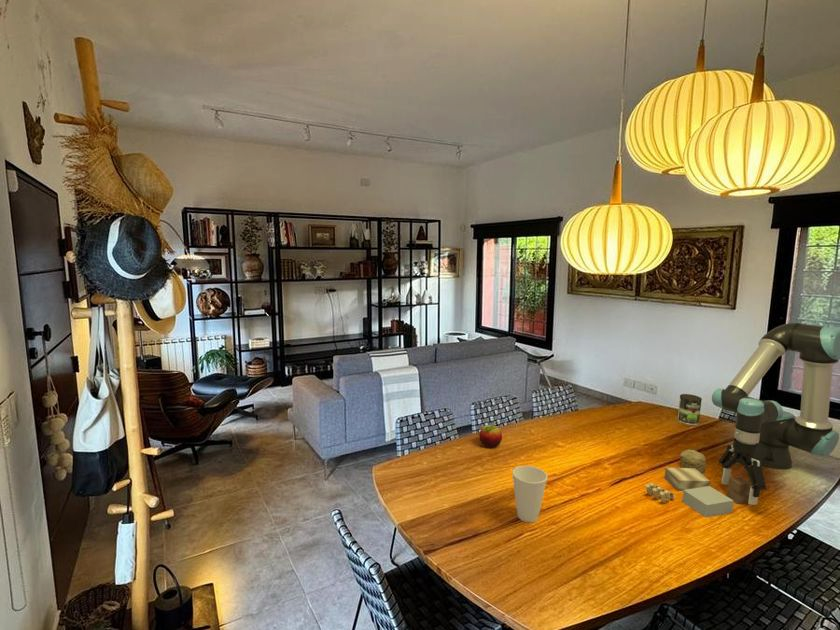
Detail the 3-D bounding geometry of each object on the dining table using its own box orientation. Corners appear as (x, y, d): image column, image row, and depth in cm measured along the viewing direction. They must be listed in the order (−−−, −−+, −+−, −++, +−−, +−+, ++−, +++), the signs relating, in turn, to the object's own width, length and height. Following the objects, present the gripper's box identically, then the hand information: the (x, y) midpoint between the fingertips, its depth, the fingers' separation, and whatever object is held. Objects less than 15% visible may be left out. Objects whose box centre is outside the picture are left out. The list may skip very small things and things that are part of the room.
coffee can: (702, 426, 237) (705, 400, 234) (681, 424, 238) (684, 399, 236) (694, 418, 247) (696, 394, 244) (674, 417, 248) (676, 393, 246)
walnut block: (739, 496, 170) (741, 477, 169) (749, 504, 165) (752, 484, 164) (726, 496, 170) (729, 477, 168) (736, 504, 165) (739, 484, 163)
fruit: (505, 443, 213) (505, 424, 211) (496, 452, 204) (497, 431, 202) (484, 438, 218) (485, 419, 217) (475, 446, 209) (475, 426, 208)
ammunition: (662, 493, 162) (676, 488, 166) (644, 484, 169) (657, 479, 173) (661, 506, 163) (675, 500, 167) (643, 496, 170) (656, 491, 173)
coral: (710, 472, 188) (712, 455, 186) (693, 475, 185) (695, 458, 184) (691, 462, 196) (693, 446, 195) (674, 464, 194) (676, 448, 193)
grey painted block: (707, 498, 169) (709, 485, 168) (732, 513, 159) (733, 500, 159) (682, 502, 166) (683, 490, 165) (705, 518, 156) (706, 505, 156)
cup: (538, 530, 148) (541, 486, 145) (505, 519, 154) (507, 476, 151) (549, 513, 158) (551, 471, 155) (517, 502, 164) (519, 462, 161)
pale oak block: (693, 479, 182) (695, 468, 182) (708, 492, 172) (710, 481, 172) (664, 478, 183) (665, 467, 182) (677, 492, 173) (679, 480, 172)
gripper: (712, 426, 176) (706, 476, 179) (763, 456, 151) (754, 513, 154) (730, 426, 176) (724, 476, 179) (784, 456, 151) (775, 513, 155)
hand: (738, 493), depth 167 cm, fingers open, 13 cm apart
